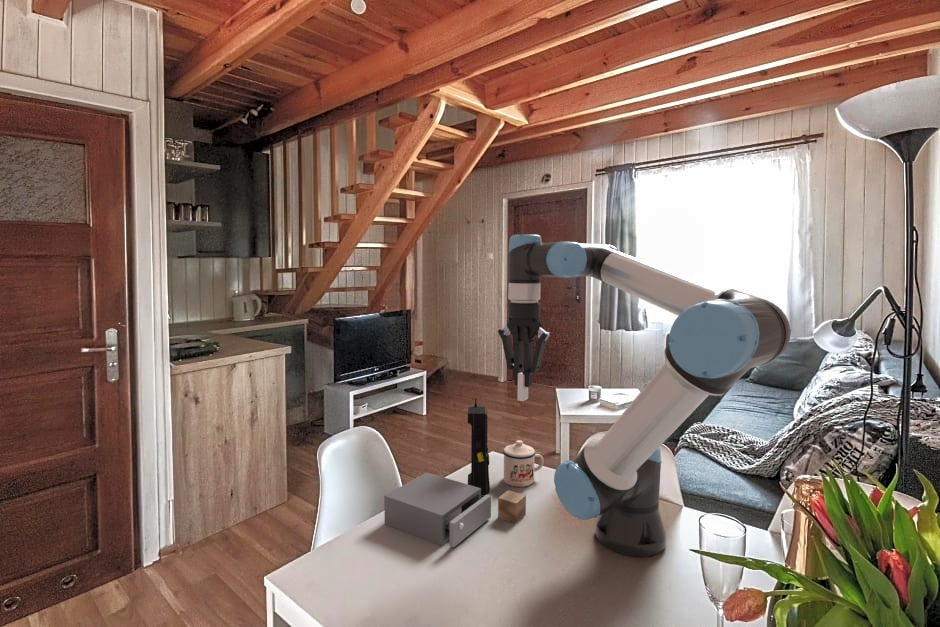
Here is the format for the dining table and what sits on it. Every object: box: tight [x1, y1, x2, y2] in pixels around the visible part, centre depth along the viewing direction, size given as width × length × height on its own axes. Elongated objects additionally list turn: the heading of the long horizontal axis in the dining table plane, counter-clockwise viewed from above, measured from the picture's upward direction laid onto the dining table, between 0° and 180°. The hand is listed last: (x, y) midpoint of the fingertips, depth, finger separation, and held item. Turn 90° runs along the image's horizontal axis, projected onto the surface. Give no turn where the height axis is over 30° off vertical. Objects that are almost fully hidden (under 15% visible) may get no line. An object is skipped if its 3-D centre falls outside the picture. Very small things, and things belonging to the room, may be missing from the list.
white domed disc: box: [445, 506, 462, 525], centre depth 119 cm, size 8×8×3 cm
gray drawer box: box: [383, 472, 482, 547], centre depth 121 cm, size 17×16×7 cm
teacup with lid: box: [502, 440, 545, 488], centre depth 143 cm, size 12×9×12 cm
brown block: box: [497, 490, 527, 524], centre depth 123 cm, size 5×5×5 cm
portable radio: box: [467, 397, 491, 497], centre depth 135 cm, size 8×6×25 cm
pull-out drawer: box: [445, 494, 492, 548], centre depth 119 cm, size 18×16×5 cm
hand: (522, 399), depth 120 cm, fingers closed
